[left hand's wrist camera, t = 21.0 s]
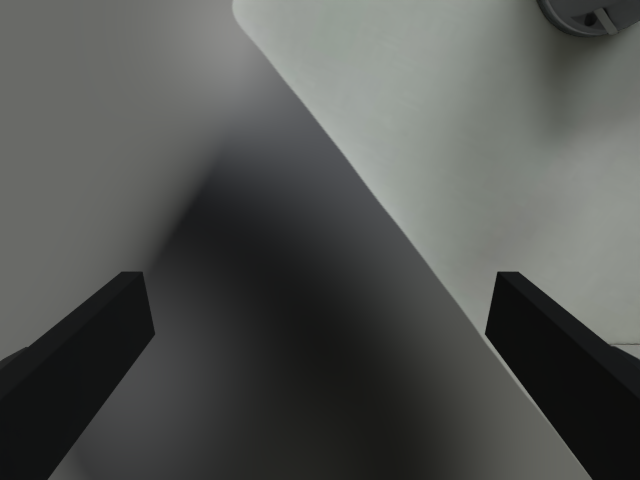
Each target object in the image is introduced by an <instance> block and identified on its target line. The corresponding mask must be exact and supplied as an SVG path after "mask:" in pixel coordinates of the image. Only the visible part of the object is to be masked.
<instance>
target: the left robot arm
mask: <svg viewBox="0 0 640 480" xmlns="http://www.w3.org/2000/svg"><path fill="white" fill-rule="evenodd" d="M538 2H539V5H540V7H541V9H542V11H543V13H544V14H545V16H546V17H547V18H548V20H549V21H550V22H551V23H552V24H553V25H554V26H556V27H557V28H558V29H560V30H561V31H563V32H565V33H568V34H570V35H574V36H579V37H594V36H600V35H604V34H608V33H609V35H613V34H617V33H619V32H618V30H621V29H624V28H626V27H628V26H630V25H632V24H634V23H636V22H637V21H639V20H640V0H538ZM154 335H155V331H154V326H153V321H152V316H151V311H150V306H149V301H148V296H147V292H146V287H145V282H144V277H143V272H121V273H120V274H118V275H117V276H116V277H115V278H113V279H112V280H111V281H110V282H108V283H107V284H106V285H105V286H103V287H102V288H101V289H100V290H98V291H97V292H96V293H95V294H93V295H92V296H91V297H90V298H89V299H87V300H86V301H85V302H84V303H82V304H81V305H80V306H79V307H77V308H76V309H75V310H74V311H72V312H71V313H70V314H69V315H68V316H66V317H65V318H64V319H63V320H61V321H60V322H59V323H58V324H56V325H55V326H54V327H53V328H51V329H50V330H49V331H48V332H46V333H45V334H44V335H43V336H41V337H40V338H39V339H38V340H36V341H35V342H34V343H33V344H32V345H30V346H29V347H25V348H23V349H21V350H20V351H18V352H16V353H14V354H12V355H10V356H8V357H6V358H4V359H3V360H1V361H0V480H48V478H49V477H50V475H51V474H52V473H53V471H54V470H55V469H56V467H57V466H58V465H59V463H60V462H61V461H62V459H63V458H64V457H65V455H66V454H67V453H68V451H69V450H70V449H71V447H72V446H73V444H74V443H75V442H76V440H77V439H78V438H79V436H80V435H81V434H82V432H83V431H84V430H85V428H86V427H87V426H88V424H89V423H90V422H91V420H92V419H93V417H94V416H95V415H96V413H97V412H98V411H99V409H100V408H101V407H102V405H103V404H104V403H105V401H106V400H107V398H108V397H109V396H110V394H111V393H112V392H113V390H114V389H115V388H116V386H117V385H118V384H119V382H120V381H121V380H122V378H123V377H124V376H125V374H126V373H127V372H128V370H129V369H130V368H131V366H132V365H133V363H134V362H135V361H136V359H137V358H138V357H139V355H140V354H141V353H142V351H143V350H144V349H145V347H146V346H147V344H148V343H149V342H150V340H151V339H152V338H153V336H154ZM485 335H486V336H487V338H488V339H489V341H490V342H491V343H492V345H493V346H494V347H495V349H496V350H497V351H498V353H499V354H500V355H501V357H502V358H503V359H504V361H505V362H506V363H507V365H508V366H509V368H510V369H511V370H512V372H513V373H514V374H515V376H516V377H517V378H518V380H519V381H520V382H521V384H522V385H523V386H524V388H525V389H526V390H527V392H528V393H529V395H530V396H531V397H532V399H533V400H534V401H535V403H536V404H537V405H538V407H539V408H540V409H541V411H542V412H543V413H544V415H545V416H546V417H547V419H548V420H549V422H550V423H551V424H552V426H553V427H554V428H555V430H556V431H557V432H558V434H559V435H560V436H561V438H562V439H563V440H564V442H565V443H566V444H567V446H568V447H569V449H570V450H571V451H572V453H573V454H574V455H575V457H576V458H577V459H578V461H579V462H580V463H581V465H582V466H583V467H584V469H585V470H586V471H587V473H588V474H589V475H590V477H591V478H592V480H640V360H639V359H638V358H637V357H635V356H633V355H631V354H629V353H627V352H625V351H623V350H621V349H620V348H618V347H616V346H610V345H608V344H607V343H606V342H605V341H604V340H602V339H601V338H600V337H599V336H597V335H596V334H595V333H594V332H592V331H591V330H590V329H589V328H587V327H586V326H585V325H584V324H582V323H581V322H580V321H579V320H578V319H576V318H575V317H574V316H573V315H571V314H570V313H569V312H568V311H566V310H565V309H564V308H563V307H561V306H560V305H559V304H558V303H556V302H555V301H554V300H553V299H551V298H550V297H549V296H548V295H547V294H545V293H544V292H543V291H542V290H540V289H539V288H538V287H537V286H535V285H534V284H533V283H532V282H530V281H529V280H528V279H527V278H525V277H524V276H523V275H522V274H520V273H519V272H497V277H496V282H495V287H494V291H493V296H492V301H491V306H490V311H489V316H488V321H487V326H486V331H485Z"/></svg>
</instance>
